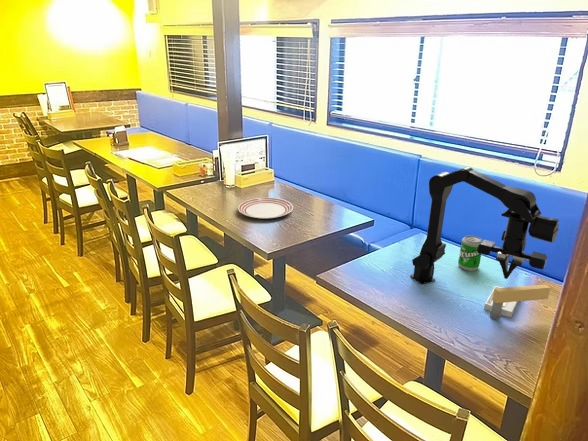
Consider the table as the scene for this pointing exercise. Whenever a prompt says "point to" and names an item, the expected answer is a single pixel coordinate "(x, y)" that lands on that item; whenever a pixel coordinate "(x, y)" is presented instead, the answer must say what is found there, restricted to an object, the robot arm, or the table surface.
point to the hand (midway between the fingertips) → (506, 278)
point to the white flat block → (506, 308)
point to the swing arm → (516, 296)
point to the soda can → (469, 253)
